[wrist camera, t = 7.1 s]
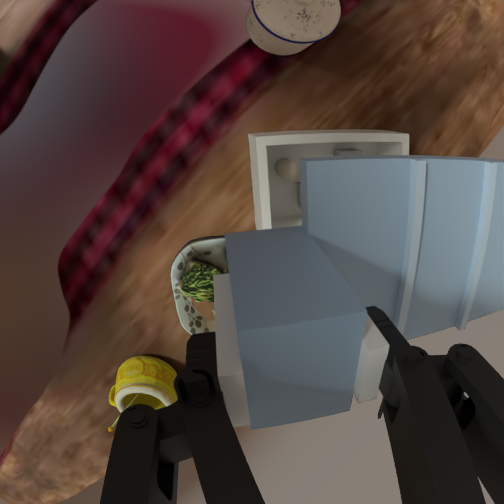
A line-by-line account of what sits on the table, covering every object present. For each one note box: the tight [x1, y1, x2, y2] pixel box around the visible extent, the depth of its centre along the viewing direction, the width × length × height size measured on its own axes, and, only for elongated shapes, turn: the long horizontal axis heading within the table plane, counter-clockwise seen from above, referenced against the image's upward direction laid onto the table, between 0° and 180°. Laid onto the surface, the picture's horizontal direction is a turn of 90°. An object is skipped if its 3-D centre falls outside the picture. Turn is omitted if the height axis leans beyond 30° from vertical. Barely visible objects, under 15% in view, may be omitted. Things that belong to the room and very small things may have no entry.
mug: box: [108, 356, 178, 432], centre depth 45 cm, size 13×11×12 cm
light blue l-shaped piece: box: [225, 155, 504, 429], centre depth 15 cm, size 12×22×9 cm, turn 94°
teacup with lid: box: [246, 0, 341, 55], centre depth 26 cm, size 12×9×12 cm
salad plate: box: [171, 236, 229, 334], centre depth 45 cm, size 19×18×5 cm
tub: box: [248, 129, 409, 230], centre depth 37 cm, size 12×18×7 cm, turn 95°
